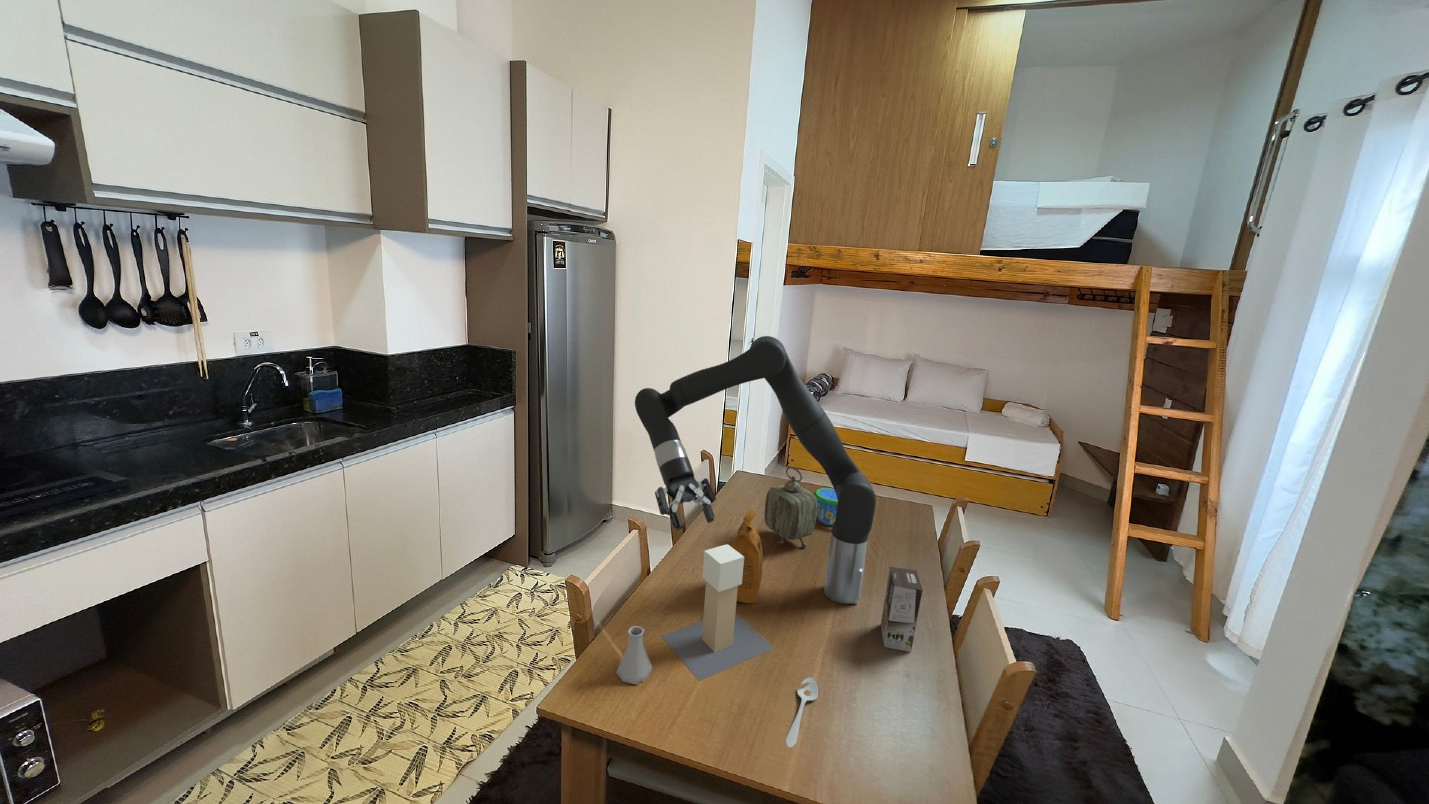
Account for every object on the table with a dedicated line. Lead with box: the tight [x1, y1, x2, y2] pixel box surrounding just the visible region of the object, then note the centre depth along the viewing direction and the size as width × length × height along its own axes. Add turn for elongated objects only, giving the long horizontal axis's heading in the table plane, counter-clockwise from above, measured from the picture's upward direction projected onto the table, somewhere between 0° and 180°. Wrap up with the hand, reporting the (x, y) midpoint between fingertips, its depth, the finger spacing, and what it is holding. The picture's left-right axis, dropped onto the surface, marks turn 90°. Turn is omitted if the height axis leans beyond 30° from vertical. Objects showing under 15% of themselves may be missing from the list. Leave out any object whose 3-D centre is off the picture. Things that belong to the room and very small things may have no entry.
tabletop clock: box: [764, 466, 817, 549], centre depth 171 cm, size 14×9×25 cm, turn 34°
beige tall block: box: [702, 580, 738, 652], centre depth 123 cm, size 5×5×16 cm
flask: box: [615, 625, 653, 685], centre depth 114 cm, size 7×7×10 cm
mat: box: [661, 612, 774, 682], centre depth 125 cm, size 20×16×1 cm
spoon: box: [785, 677, 819, 748], centre depth 107 cm, size 4×21×2 cm, turn 157°
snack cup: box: [812, 487, 838, 526], centre depth 189 cm, size 16×10×10 cm
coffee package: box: [730, 508, 763, 604], centre depth 143 cm, size 10×12×22 cm
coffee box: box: [880, 566, 924, 653], centre depth 130 cm, size 9×6×16 cm
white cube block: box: [702, 544, 744, 592], centre depth 121 cm, size 6×6×7 cm
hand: (695, 525), depth 129 cm, fingers open, 8 cm apart
